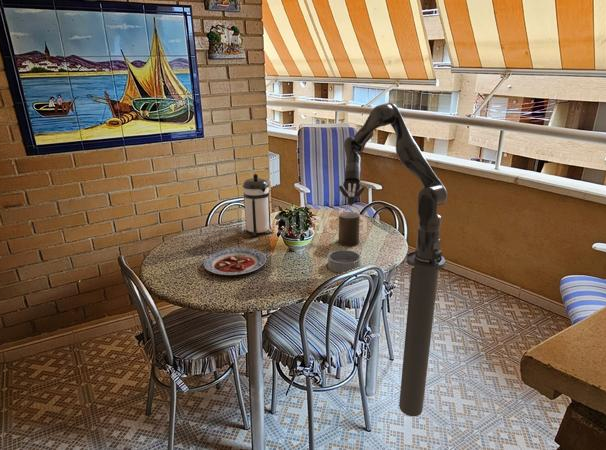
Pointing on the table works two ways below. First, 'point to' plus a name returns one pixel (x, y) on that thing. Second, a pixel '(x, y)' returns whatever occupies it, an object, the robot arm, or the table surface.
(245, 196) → the coffee press
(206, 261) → the ceramic plate
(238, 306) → the table surface
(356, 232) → the pillar candle
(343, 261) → the pan
